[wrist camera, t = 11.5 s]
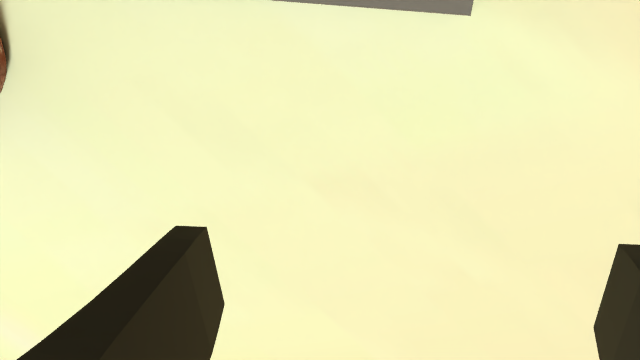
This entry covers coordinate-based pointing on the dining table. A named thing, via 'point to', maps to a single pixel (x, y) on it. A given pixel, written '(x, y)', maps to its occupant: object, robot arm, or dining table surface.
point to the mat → (403, 5)
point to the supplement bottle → (2, 66)
